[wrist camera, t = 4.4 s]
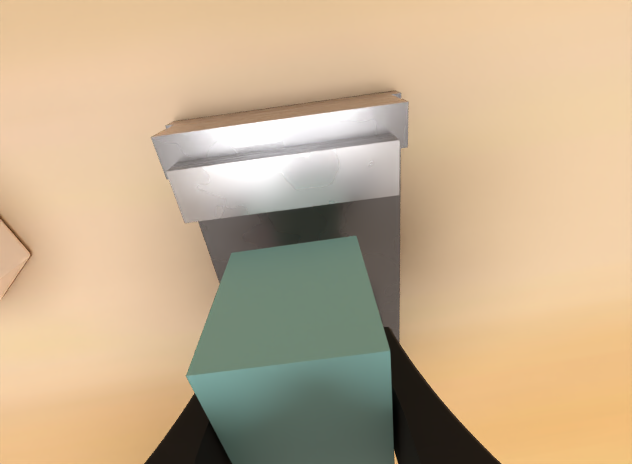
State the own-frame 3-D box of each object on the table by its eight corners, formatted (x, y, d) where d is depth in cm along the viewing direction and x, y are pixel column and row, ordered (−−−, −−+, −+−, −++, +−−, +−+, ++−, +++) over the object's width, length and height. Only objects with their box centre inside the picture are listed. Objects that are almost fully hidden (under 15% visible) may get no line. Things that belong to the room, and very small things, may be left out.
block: (368, 366, 15) (395, 498, 10) (271, 377, 15) (258, 513, 10) (356, 235, 11) (390, 350, 7) (231, 252, 11) (186, 375, 7)
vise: (395, 361, 23) (414, 424, 19) (258, 377, 23) (249, 443, 19) (394, 90, 14) (431, 104, 10) (173, 121, 14) (124, 146, 10)
